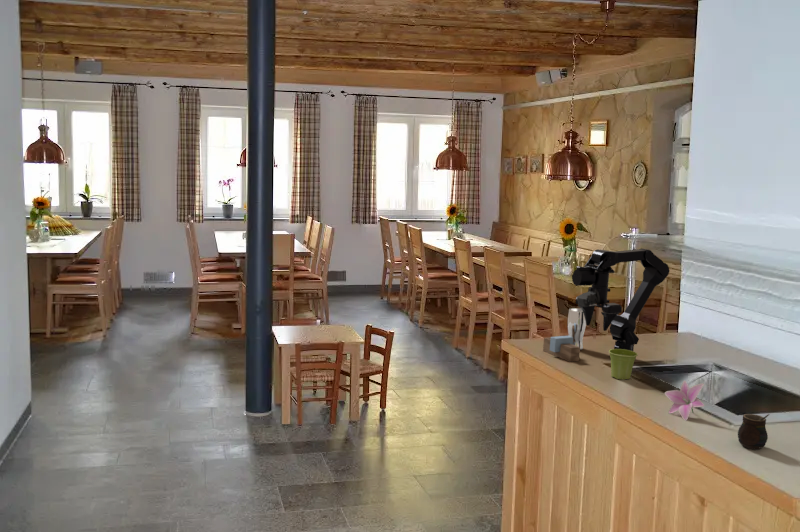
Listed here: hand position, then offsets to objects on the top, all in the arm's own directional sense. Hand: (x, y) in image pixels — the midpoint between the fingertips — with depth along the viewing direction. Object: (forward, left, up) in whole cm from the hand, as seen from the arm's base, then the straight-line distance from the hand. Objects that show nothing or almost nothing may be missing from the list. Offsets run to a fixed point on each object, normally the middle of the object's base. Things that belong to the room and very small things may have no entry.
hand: (596, 327), depth 291 cm
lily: (+15, +58, -12) cm, 61 cm away
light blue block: (+8, -9, -10) cm, 16 cm away
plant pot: (+6, +21, -12) cm, 25 cm away
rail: (+8, -9, -12) cm, 17 cm away
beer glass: (-5, -17, -12) cm, 22 cm away
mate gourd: (+18, +84, -12) cm, 87 cm away
